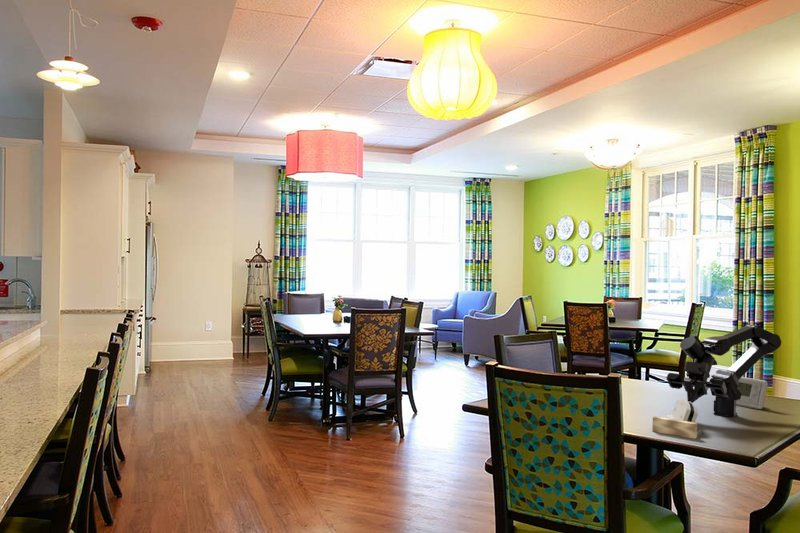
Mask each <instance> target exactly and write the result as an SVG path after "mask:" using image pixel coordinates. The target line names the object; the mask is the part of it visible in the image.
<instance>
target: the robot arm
mask: <svg viewBox="0 0 800 533" xmlns="http://www.w3.org/2000/svg"><path fill="white" fill-rule="evenodd" d="M749 340H751V346H750V347H749V348H748V349H747V350H746V351H745V352H744V353H743V354H742V355H741V356H740V357H739V358H738V359H737V360H736V361H735V362H734V363H732V365H731V366H730V367H728V369H727V370H723V369H717V370H716V372H714V374H713V375H710V372H711V370H712V366H718V361H717V360H716V358H715V357H714V356H719V357H721V356H722V357H723V356H724V355H726V354H727V353H728V352H729V351H730V350H731V348H732V347H734V346H737V345H739V344H741V343H743V342H746V341H749ZM781 345H782V340H781V337H780V335H778V334H776V333H773V332H771V331H768V330H766V329H765V328H763V327H761V326H759V325H757V324H749V323H748V324H746V325H745V326H743V327H741V328H737V329H735V330H733V331H731V332H729V333H726V334H723V335H718V336H709V337H706V338H704V339H703V340H702V341H701V340H700V338H699V337H698V336H697V335H696V334H691V335H690V336H688V337H686V338H684V339H683V340H681V342H680V344H679V347H680V349H681V350H683V352H684V353H685V354H686V355H687V356H688V358H689V359H691V360H694V361H686V362H685V366H684V372H686V373H685V375H686V377H684V378H682V376H681V373H675V372H669V373H668V374H667V375H666V377H665V378H666V380H667V383H668V386H669V387H670V388H671V389H677V390H680V389H683V388H684V390H685V392H686V396H687V399H686V400H687V401H689V402H691V403H693V404H694V402H696V401H697V400H699V399H700V398H702V397H703V396H707V395H708V390H710V392H711V396H713V397H714V396H715V399H714V400H713V415H717V416H722V417H728V418H729V417H730V418H734V417H736V416H737V415H738V412H737V405H736V400H740V398H741V395H742V394H741V392H740V391H739V390H738V389H737V387H738V383H739V379H740V378H741V377H744V375H745V374H746V373H748V371H749V370H750V369H751V368H752V367H753V366H755V364H757V362H758V361H760V360H761V359H762V357H764V356H767V355H769V354H772V353H774V352H775V351H777V350H778V349H779V348H780V347H781ZM713 355H714V356H713ZM710 377H711V378H710ZM708 379H709V381H708Z"/></svg>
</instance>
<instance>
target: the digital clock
mask: <svg viewBox="0 0 800 533" xmlns="http://www.w3.org/2000/svg"><path fill="white" fill-rule="evenodd" d="M768 386H769V383H768V381H766V380H762V379H758V378H754V377H753V378H752V377H746V376H742V377H741V378H740V379H739V383H738V387H737V389H738V390H739V391H740V392H741V394H742V395H741V398H740V400H736V406H740V407H744V408H749V409H757V410H762V409H763V408H764V404H765V400H766V395H767V390H768Z"/></svg>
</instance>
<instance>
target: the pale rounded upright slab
mask: <svg viewBox="0 0 800 533" xmlns="http://www.w3.org/2000/svg"><path fill="white" fill-rule="evenodd" d="M698 415H699V412H698V407H697V406H696V404H695V403H694V402H693V403H691V402H689V401H688V399H682V398H679V399H677V400H676V402H675V403H674V406H673V408H672V410H671V412H670V414H666V416H665V418H669V419H675V420H681V421H687V422H694V423H696V421H697V418H698Z"/></svg>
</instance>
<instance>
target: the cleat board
mask: <svg viewBox="0 0 800 533" xmlns="http://www.w3.org/2000/svg"><path fill="white" fill-rule="evenodd" d="M651 431H652V432H654V433H660V434H666V435H670V436H678V437H682V438H687V439H688V438H689V439H694V440H695V439H697V438H699V437H700V436H701V435H703V428H698V422H695V423H694V422H687V421H681V420H675V419H669V418H666V417H662V416H654V415H653V416H652V430H651Z"/></svg>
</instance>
